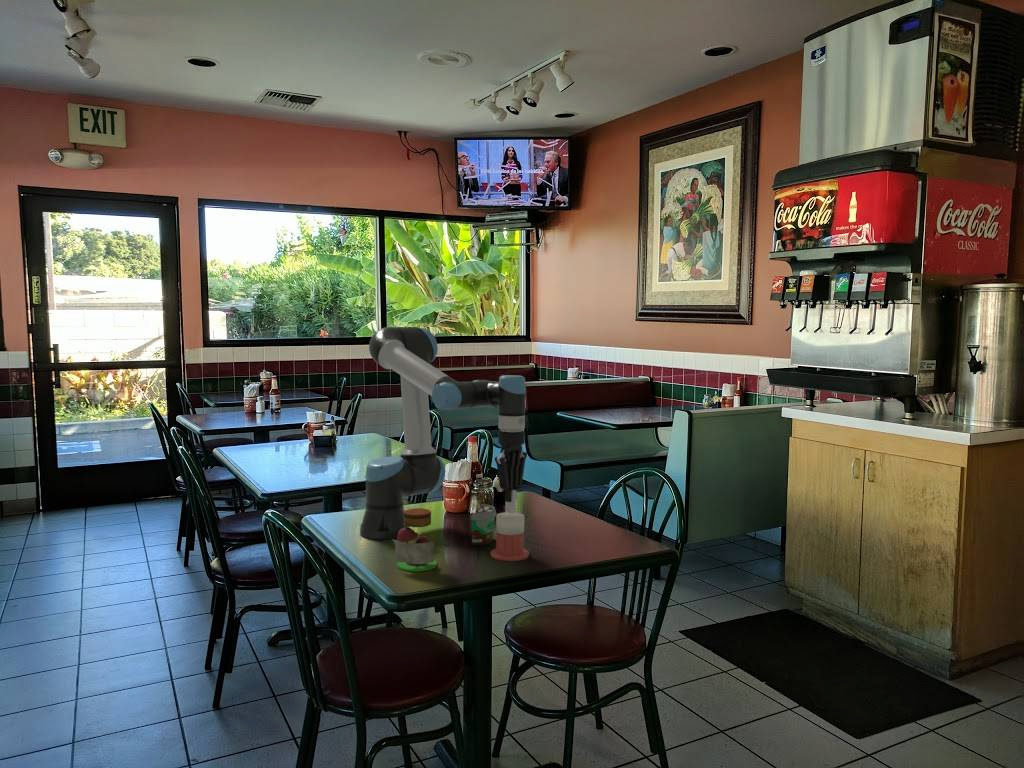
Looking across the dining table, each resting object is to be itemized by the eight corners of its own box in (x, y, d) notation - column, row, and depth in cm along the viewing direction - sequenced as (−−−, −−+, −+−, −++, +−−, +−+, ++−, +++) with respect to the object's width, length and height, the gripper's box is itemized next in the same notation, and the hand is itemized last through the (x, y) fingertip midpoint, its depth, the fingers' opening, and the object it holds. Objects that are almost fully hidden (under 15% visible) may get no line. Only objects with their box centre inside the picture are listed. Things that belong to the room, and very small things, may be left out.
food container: (491, 547, 221) (491, 514, 220) (470, 546, 222) (471, 512, 222) (500, 536, 233) (500, 504, 233) (480, 534, 235) (481, 503, 234)
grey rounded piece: (490, 540, 213) (490, 516, 212) (506, 534, 219) (507, 510, 219) (513, 545, 208) (513, 520, 208) (529, 539, 215) (529, 515, 214)
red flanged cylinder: (482, 556, 213) (483, 532, 212) (505, 547, 222) (505, 524, 221) (514, 563, 206) (514, 538, 206) (536, 554, 215) (536, 530, 215)
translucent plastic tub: (393, 559, 209) (393, 506, 208) (439, 558, 210) (439, 506, 209) (389, 573, 197) (389, 517, 196) (437, 572, 198) (438, 517, 197)
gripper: (509, 433, 204) (507, 518, 206) (535, 428, 214) (534, 509, 216) (487, 431, 208) (486, 514, 210) (514, 426, 219) (513, 506, 221)
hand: (510, 512), depth 213 cm, fingers closed
